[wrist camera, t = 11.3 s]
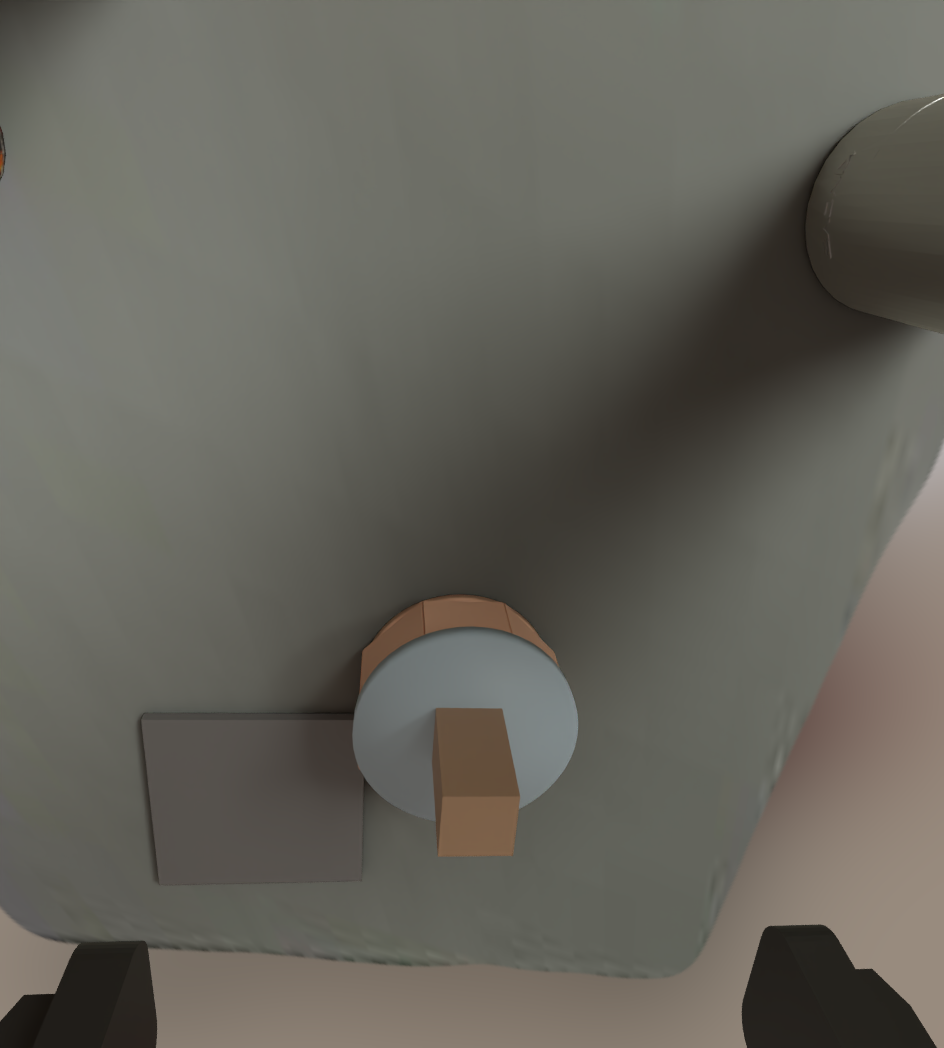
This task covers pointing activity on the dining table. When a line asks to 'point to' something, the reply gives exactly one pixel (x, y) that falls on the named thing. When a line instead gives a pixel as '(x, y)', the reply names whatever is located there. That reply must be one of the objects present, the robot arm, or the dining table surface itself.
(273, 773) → the mat
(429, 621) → the bowl
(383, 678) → the lid
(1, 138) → the deodorant
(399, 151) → the dining table surface
